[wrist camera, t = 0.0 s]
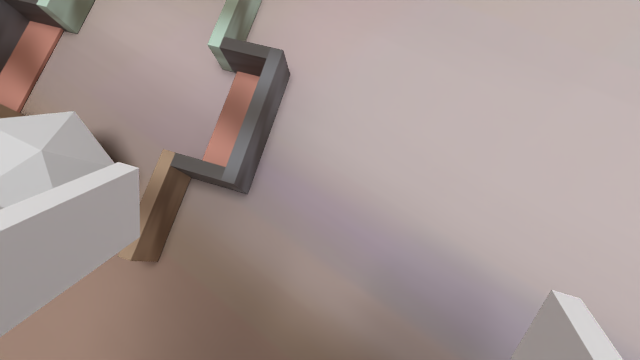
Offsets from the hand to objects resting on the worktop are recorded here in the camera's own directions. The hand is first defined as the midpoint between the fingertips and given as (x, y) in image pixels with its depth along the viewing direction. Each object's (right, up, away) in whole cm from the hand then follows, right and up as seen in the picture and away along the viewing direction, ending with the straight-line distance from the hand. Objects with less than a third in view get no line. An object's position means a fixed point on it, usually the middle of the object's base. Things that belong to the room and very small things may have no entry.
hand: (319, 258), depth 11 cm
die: (-20, +2, +18) cm, 27 cm away
